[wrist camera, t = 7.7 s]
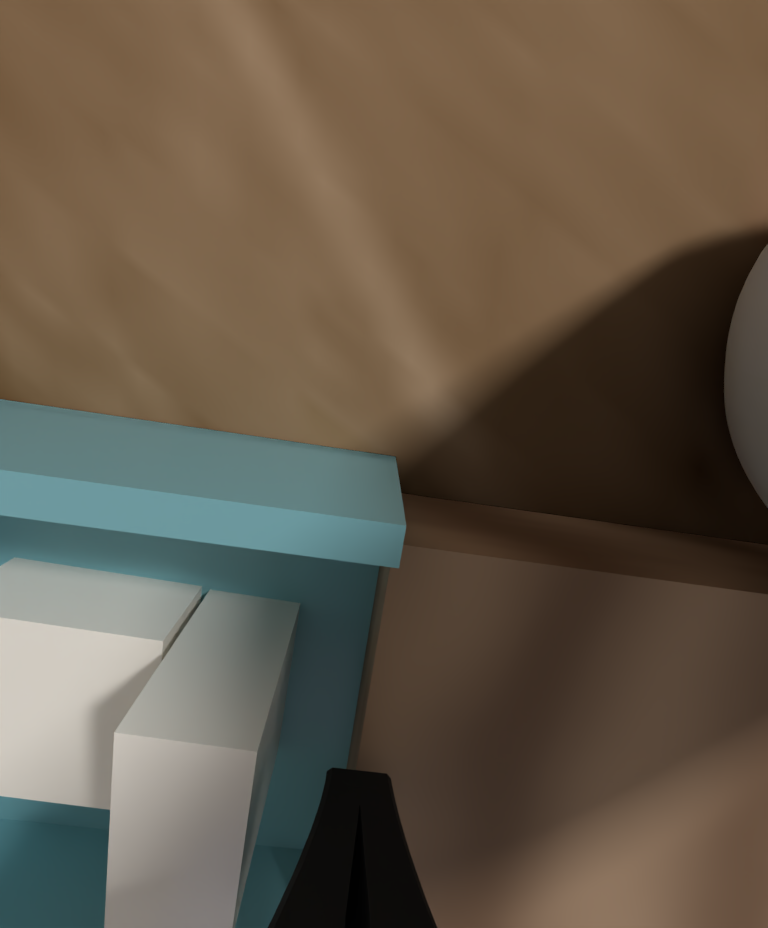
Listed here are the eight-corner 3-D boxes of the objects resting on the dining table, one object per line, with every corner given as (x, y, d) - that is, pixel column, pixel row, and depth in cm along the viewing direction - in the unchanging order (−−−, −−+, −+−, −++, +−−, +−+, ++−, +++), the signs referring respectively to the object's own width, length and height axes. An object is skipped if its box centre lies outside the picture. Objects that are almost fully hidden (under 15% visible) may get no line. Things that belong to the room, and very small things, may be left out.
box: (-96, 808, 16) (-307, 1016, 11) (-147, 378, 12) (-485, 402, 8) (331, 852, 16) (311, 1065, 12) (395, 456, 13) (406, 525, 8)
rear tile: (149, 814, 12) (187, 735, 14) (162, 641, 11) (202, 586, 13) (-59, 788, 12) (16, 712, 14) (-69, 607, 11) (14, 557, 13)
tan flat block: (336, 818, 16) (326, 945, 13) (389, 491, 13) (393, 543, 10) (898, 877, 17) (1027, 1010, 14) (1059, 586, 14) (1270, 662, 11)
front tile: (278, 749, 15) (195, 737, 15) (300, 603, 13) (210, 589, 13) (229, 951, 10) (103, 937, 10) (257, 752, 9) (114, 732, 8)
